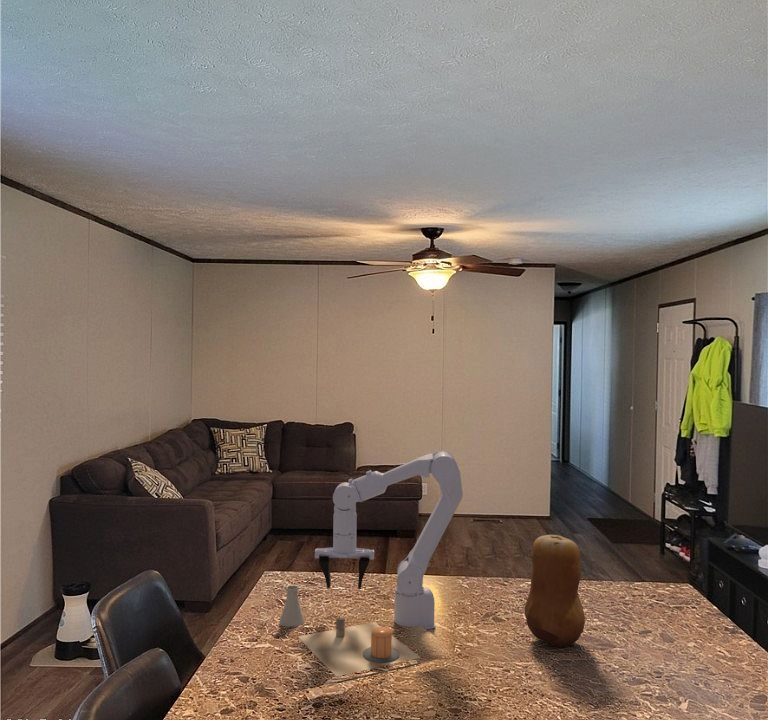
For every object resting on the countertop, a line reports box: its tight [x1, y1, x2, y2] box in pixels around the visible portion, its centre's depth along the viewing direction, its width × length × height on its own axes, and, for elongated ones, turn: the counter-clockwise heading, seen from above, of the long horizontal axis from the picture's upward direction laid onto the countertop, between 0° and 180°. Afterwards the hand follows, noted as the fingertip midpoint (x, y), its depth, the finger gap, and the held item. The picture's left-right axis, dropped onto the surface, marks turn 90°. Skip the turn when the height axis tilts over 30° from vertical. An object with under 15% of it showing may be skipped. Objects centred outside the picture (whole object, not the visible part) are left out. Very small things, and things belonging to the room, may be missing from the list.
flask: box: [279, 584, 306, 628], centre depth 174 cm, size 7×7×10 cm
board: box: [297, 616, 421, 685], centre depth 160 cm, size 20×22×6 cm
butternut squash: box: [524, 534, 586, 649], centre depth 167 cm, size 14×13×25 cm
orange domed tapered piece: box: [371, 626, 393, 658], centre depth 156 cm, size 4×4×5 cm
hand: (344, 587), depth 176 cm, fingers open, 7 cm apart
